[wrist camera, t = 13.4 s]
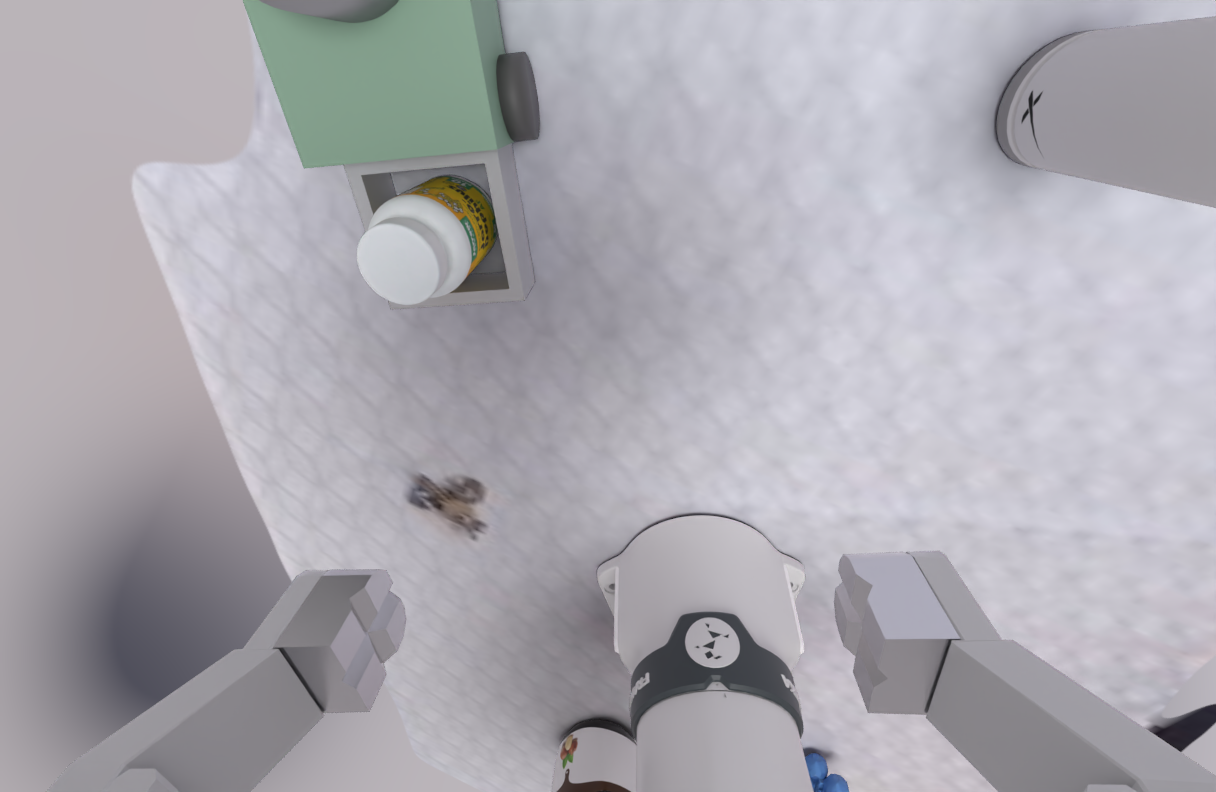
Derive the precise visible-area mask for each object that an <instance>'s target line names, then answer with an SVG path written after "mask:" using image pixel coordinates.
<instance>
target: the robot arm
mask: <svg viewBox="0 0 1216 792" xmlns="http://www.w3.org/2000/svg"><path fill="white" fill-rule="evenodd" d="M838 571H839V574H840V576H841V579H842V581H843V582H842V583H841V584H840V585H839V586H838V587H837V588H835V598H834V607H835V618H836V622H837V626H838V631H839V634H840V637H841V640H842V642H843V645H844V647H845V648H847V649H848V650H849V651H850V652H851V653H852V654H853V655H855V656H856V658H855V663H854V669H853V673H854V676H855V679H856V681H857V684H858V687H859V690H860V692H861V695H862V698H863V700H864V703H865V706H866V709H867V711H868V713H887V714H920V715H927V716H926V718H927V719H928V720H929V721H930V722H931V723H932V724H933V725H934V726H935V728H936V729H937V730H938V731H939V732H940V733H941V734H942V735H943V736H944V737H945V738H946V739H947V740H948V741H949V742H950V743H951V744H952V745H953V746H954V747H955V748H956V749H957V750H958V751H959V752H960V753H961V754H962V755H963V756H964V757H965V758H966V759H967V760H968V761H969V762H970V763H971V764H972V765H973V766H974V767H975V768H976V769H977V770H978V771H979V772H980V774H981V775H982V776H983V777H984V778H985V779H986V780H987V781H988V782H989V783H990V784H991V785H992V786H993V787H994V788H995V789H996V790H997V791H998V792H1216V776H1215V775H1214V774H1212V773H1211V772H1209V771H1207V770H1206V769H1205V768H1203V767H1202V766H1200V765H1199V764H1197V763H1196V762H1194V761H1193V760H1191V759H1190V758H1188V757H1187V756H1185V755H1184V754H1182V753H1181V752H1179V751H1178V750H1176V749H1175V748H1173V747H1172V746H1170V745H1169V744H1168V743H1166V742H1165V741H1163V740H1162V739H1160V738H1159V737H1157V736H1156V735H1154V734H1153V733H1151V732H1150V731H1148V730H1147V729H1145V728H1144V727H1142V726H1141V725H1139V724H1138V723H1136V722H1135V721H1133V720H1132V719H1130V718H1129V717H1127V716H1126V715H1124V714H1123V713H1121V712H1120V711H1118V710H1117V709H1115V708H1114V707H1112V706H1111V705H1109V704H1108V703H1106V702H1105V701H1103V700H1102V699H1100V698H1099V697H1097V696H1096V695H1094V694H1093V693H1091V692H1090V691H1088V690H1087V689H1085V688H1084V687H1083V686H1081V685H1080V684H1078V683H1077V682H1075V681H1074V680H1072V679H1071V678H1069V677H1068V676H1066V675H1065V674H1063V673H1062V672H1060V671H1059V670H1057V669H1056V668H1054V667H1053V666H1051V665H1050V664H1048V663H1047V662H1045V661H1044V660H1042V659H1041V658H1039V657H1038V656H1036V655H1035V654H1033V653H1032V652H1030V651H1029V650H1027V649H1026V648H1024V647H1023V646H1021V645H1020V644H1018V643H1017V642H1015V641H1014V640H1002V639H1001V637H1000V636H999V634H998V633H997V631H996V630H995V628H994V627H993V625H992V624H991V622H990V621H989V619H988V618H987V616H986V615H985V613H984V612H983V610H982V609H981V607H980V606H979V604H978V603H977V601H976V600H975V598H974V597H973V595H972V594H971V592H970V591H969V589H968V588H967V586H966V585H965V583H964V582H963V580H962V579H961V577H960V576H959V574H958V573H957V571H956V570H955V568H954V567H953V565H952V564H951V562H950V561H949V559H948V558H947V556H946V555H945V554H943V553H942V552H940V551H919V552H906V553H905V552H886V553H862V554H843V556H842V557H841V559H840V562H839V568H838ZM805 577H806V576H805V571H804V566H803V565H802V564H801V563H800V562H798V561H797V560H795V559H793V558H791V557H789V556H786V555H784V554H782V553H780V552H779V551H777V550H776V549H775V548H774V547H773V546H772V544H771V543H770V542H769V541H768V540H767V539H766V538H765V537H764V536H763V535H762V534H760V533H759V532H758V531H756V530H755V529H753V528H751V527H750V526H748V525H745V524H743V523H741V522H738V521H735V520H732V519H728V518H723V517H717V516H705V515H697V516H685V517H679V518H674V519H671V520H667V521H664V522H661V523H659V524H656V525H654V526H652V527H650V528H649V529H647V530H645V531H644V532H642V533H641V534H640V535H638V536H637V537H636V538H635V539H634V540H633V541H632V542H631V543H630V544H629V546H628V547H627V548H626V549H625V551H624V552H623V553H621V554H620V555H619V556H617V557H615V558H613V559H611V560H609V561H607V562H605V563H603V564H602V565H601V566H599V568H598V569H597V580H598V583H599V585H600V588H601V590H602V592H603V594H604V597H605V599H606V601H607V603H608V606H609V608H610V610H611V612H612V614H613V617H614V649H615V652H616V653H618V654H619V655H620V658H621V661H622V663H623V665H624V666H625V668H626V669H627V671H628V672H629V674H630V675H631V676H632V679H631V694H630V699H629V711H630V717H631V730H632V733H633V736H634V738H635V740H636V742H637V748H636V792H814V791H813V787H812V783H811V780H810V776H809V772H808V768H807V764H806V760H805V756H804V752H803V748H802V744H801V740H800V739H801V737H802V734H803V721H802V716H801V704H800V700H799V695H798V693H797V690H796V688H795V685H794V681H793V677H792V670H793V668H794V667H795V666H796V664H797V663H798V661H799V658H800V654H802V653H803V652H804V642H803V637H802V633H801V628H800V624H799V619H798V615H797V610H796V606H795V600H796V598H797V596H798V594H799V592H800V590H801V587H802V585H803V583H804V581H805ZM392 584H393V581H392V580H391V578H390V576H389V574H388V572H387V570H379V569H359V570H306V571H304V572H302V573H301V574H299V575H298V576H296V578H295V579H294V580H293V582H292V583H291V585H290V586H289V587H288V589H287V590H286V591H285V593H284V594H283V595H282V597H281V598H280V599H279V601H278V602H277V603H276V605H275V606H274V608H273V609H272V610H271V611H270V613H269V614H268V616H267V617H266V618H265V620H264V621H263V622H262V624H261V625H260V626H259V628H258V629H257V630H256V632H255V633H254V635H253V636H252V637H251V639H250V640H249V641H248V643H247V644H246V645H245V647H244V648H243V649H236V650H233V651H232V652H230V653H229V654H227V655H226V656H225V657H223V658H222V659H220V660H219V661H217V662H216V663H214V664H213V665H212V666H210V667H209V668H207V669H206V670H204V671H203V672H202V673H200V674H199V675H197V676H196V677H194V678H193V679H192V680H190V681H189V682H187V683H186V684H184V685H183V686H181V687H180V688H179V689H177V690H176V691H174V692H173V693H171V694H170V695H169V696H167V697H166V698H164V699H163V700H161V701H160V702H158V703H157V704H156V705H154V706H153V707H151V708H150V709H148V710H147V711H145V712H144V713H143V714H141V715H140V716H138V717H137V718H136V719H134V720H133V721H131V722H130V723H128V724H127V725H125V726H124V727H123V728H121V729H120V730H118V731H117V732H115V733H114V734H112V735H111V736H110V737H108V738H107V739H105V740H104V741H103V742H101V743H100V744H98V745H97V746H95V747H94V748H92V749H91V750H89V751H88V752H87V753H85V754H84V755H82V756H81V757H79V758H78V759H76V760H75V761H74V762H72V763H71V764H69V766H68V767H67V768H66V769H65V770H64V771H63V773H62V774H61V775H60V776H59V777H58V779H57V780H56V781H55V782H54V783H53V784H52V785H51V786H50V788H49V789H48V790H47V791H46V792H251V791H252V790H253V789H254V787H256V785H257V784H258V783H259V782H260V781H261V780H262V779H263V778H264V777H265V776H266V775H267V774H268V773H269V772H270V771H271V770H272V769H273V768H274V767H275V766H276V765H277V764H278V763H279V762H280V761H281V760H282V759H283V758H284V757H285V755H287V754H288V752H290V751H291V749H292V748H293V747H294V746H295V745H296V744H297V743H298V742H299V741H300V740H301V739H302V738H303V737H304V736H305V735H306V734H307V733H308V732H309V731H310V730H311V729H312V728H313V727H314V726H315V725H316V724H317V723H318V722H319V720H321V719H322V718H323V716H324V714H323V713H343V712H370V710H371V708H372V705H373V703H374V701H375V699H376V696H377V694H378V692H379V690H380V687H381V686H382V683H383V681H384V679H385V677H386V670H385V666H384V662H385V661H387V660H388V659H389V658H390V657H391V656H392V655H393V654H394V653H396V652H397V650H398V648H399V646H400V643H401V641H402V639H403V636H404V630H405V624H406V615H405V608H404V605H403V603H402V601H401V599H400V598H399V597H397V596H396V595H395V594H393V593H392V592H390V591H389V590H390V588H391V586H392Z"/></svg>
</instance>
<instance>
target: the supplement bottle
mask: <svg viewBox="0 0 1216 792" xmlns="http://www.w3.org/2000/svg"><path fill="white" fill-rule="evenodd" d="M497 234H498V228H497V223H496V218H495V213H494V208H493V203H492V201H491V200H490V198H489V197H488V195H487V194H486V193H485V192H484V191H483V190H482V189H481V188H480V187H479V186H478V185H476V184H474V183H473V182H471V181H468V180H466V179H464V178H461V177H458V176H453V175H444V176H438V177H435V178H433V179H430V180H428V181H427V182H425V183H422V184H421V185H419V186H417V187H414V188H412V189H410V190H408V191H406V192H404V193H402V194H400V195H398V196H396V197H394V198H392V199H390V200H388V201H387V202H385V203H384V204H383V205H381V206H380V207H379V208H378V209H377V211H376V212H375V213H374V215H373V217H372V219H371V221H370V223H369V227H368V230H367V231H366V232H365V233H364V235H363V236H362V237H361V239H360V241H359V244H358V247H357V263H358V267H359V270H360V272H361V274H362V276H363V278H364V280H365V281H366V283H367V284H368V285H369V286H370V288H371V289H372V290H373V291H374V292H376V293H377V294H378V295H380V296H381V297H383V298H384V299H386V300H388V301H391V302H394V303H397V304H402V305H413V304H418V303H421V302H423V301H425V300H427V299H428V298H435V297H440V296H443V295H446V294H448V293H450V292H452V291H453V290H455V289H456V288H457V287H458V286H459V285H460V284H461V283H462V282H463V281H464V280H465V279H466V278H467V276H468V275H469V274H470V273H471V272H472V271H473V270H474V269H475V267H476V266H477V265H478V264H479V263H480V262H481V261H482V260H483V258H484V257H485V256H486V255H487V254H488V252H489V251H490V250H491V249H492V247H493V245H494V243H495V241H496V238H497Z"/></svg>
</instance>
